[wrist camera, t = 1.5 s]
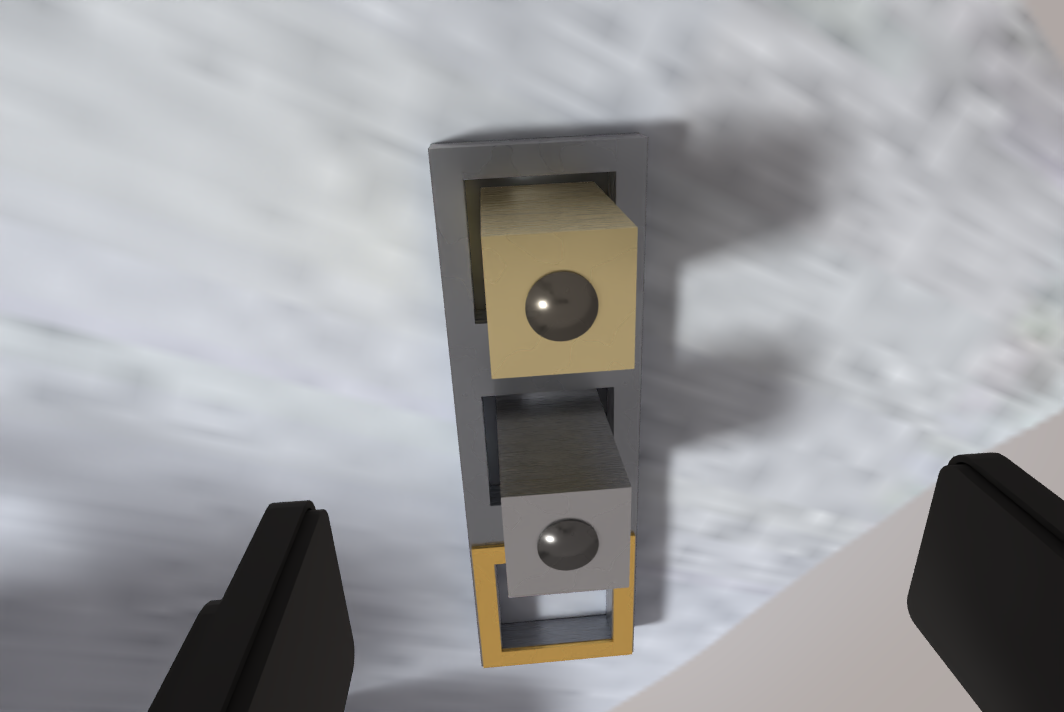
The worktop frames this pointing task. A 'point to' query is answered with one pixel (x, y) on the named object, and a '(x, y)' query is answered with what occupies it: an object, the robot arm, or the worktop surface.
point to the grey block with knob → (562, 494)
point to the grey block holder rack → (532, 381)
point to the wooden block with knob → (558, 280)
